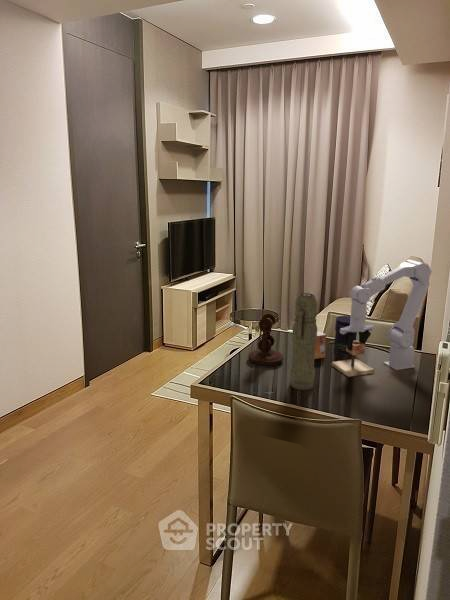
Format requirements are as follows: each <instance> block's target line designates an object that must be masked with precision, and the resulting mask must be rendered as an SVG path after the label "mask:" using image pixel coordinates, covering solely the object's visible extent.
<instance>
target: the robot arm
mask: <svg viewBox="0 0 450 600" xmlns="http://www.w3.org/2000/svg"><path fill="white" fill-rule="evenodd" d="M432 272H433V271H432V269H431V267H430V266H429V264H428V263H425V262H421V261H418V260H417V261H416V260H414V259H411V258H409V259H407V260H405V261H404V262H403V261H402V262H401V263H400V264H399V265H398V266H397V267H396V268H394V269H393V270H391V271H389V272H388V273H386V274H385V275H383V276H381V277H380V276H372V277H371V279H370V280H368V281H366V282H363V283H361V284H360V285H355V286H353V287H352V288H351V289H350V292H349V293H348V294H349V297H350V298H351V307H350V308H351V309H350V316H351V318H350V326H347V327H344V328H340V333H341V334H343V336H344V338H345V340H346V344H347V349H348V350H350V351H351V350H352V345H353V340H354V337H355V336H354V335H353V334H352V333H353V332H357V333H358V341H360V342H361V343H363V344H365V345H366V343H367V342H368V339H369V338H370V337H371V335H372V332H374V329H375V325H372V324H366V317H367V305H368V302H369V301H371V300H370V299H371V298H372V297H373V296H375V295H377V294H378V293H380V292H382V291H383V290H385V289H386V286H387V285H389V284H391V283H392V282H396V281H397V280H399V279H401V278H403V277H407V278H409V279H410V281H411V283H412V288H411V290H410V293H409V295H408V297H407V299H406V300H407V301H406V303H405V304H404V308H403V310H402V313H401V316H400V317H399V320H397V322H395V323H393V325H392V326H391V328H390V329H389V330H388V332H387V337H388V340H389V343H390V347H389V356H388V361H383V364H385V365H386V366H387V367H390V368H392V369H394V370H396V371H398V370H399V371H400V370H406V369H411V368H415V365H414V364H415V363H414V360H415V355H416V354H415V348H414V346H413V344H414V342H415V338H414V337H415V334H416V331H415V328H414V323H415V321H416V318H417V317H418V314H419V312H420V308H421V306H422V304H423V301H424V298H425V296H426V294H427V291H428V290H429V286H430V277H431V275H432Z"/></svg>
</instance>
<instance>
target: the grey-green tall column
mask: <svg viewBox="0 0 450 600" xmlns="http://www.w3.org/2000/svg"><path fill="white" fill-rule="evenodd" d="M294 308H295V309H294V310H295V313H294V315H295V318H294V322H293V325H292V337H291V339H292V361H291V362H292V365H291V367H290V373H289V374H290V377H289V378H290V387H292V388H293V389H295V390H298V391H299V390H300V391H308V390H312V389H313V388H314V385H315V384H314V381H315V377H316V376H315V375H316V371H315V370H316V369H315V366H314V365H315V359H314V354H315V344H316V342H317V331H318V326H317V314H318V312H317V311H318V302H317V297H316V295H315V294H312V293H309V292H307V293H306V292H303V293H300V294H298V295H297V298H296V301H295V307H294Z"/></svg>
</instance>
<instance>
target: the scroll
mask: <svg viewBox="0 0 450 600" xmlns="http://www.w3.org/2000/svg"><path fill="white" fill-rule="evenodd" d="M275 324H276V318H275V316H274V314H272V313H265V314H264V315H263V316H262V318H261V319H260V320H259V321H258V327H259V335H258V340H257V349H254V350H252V351H250V352H249V353H248V360H249V361H250V363H251V364H252V365H253V364H254V363H255V364H258V365H267V366H268V365H270V366H271V365H273V367H274V368H275V367H276V366H277V364H279V363H281V362H283V361H284V354H283V353H281V352H280V351H278V350H276V349H272V347H273V346H274V345H275V338H274V337H273V336H272V335H271V332H272V329H273V326H274V325H275Z"/></svg>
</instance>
